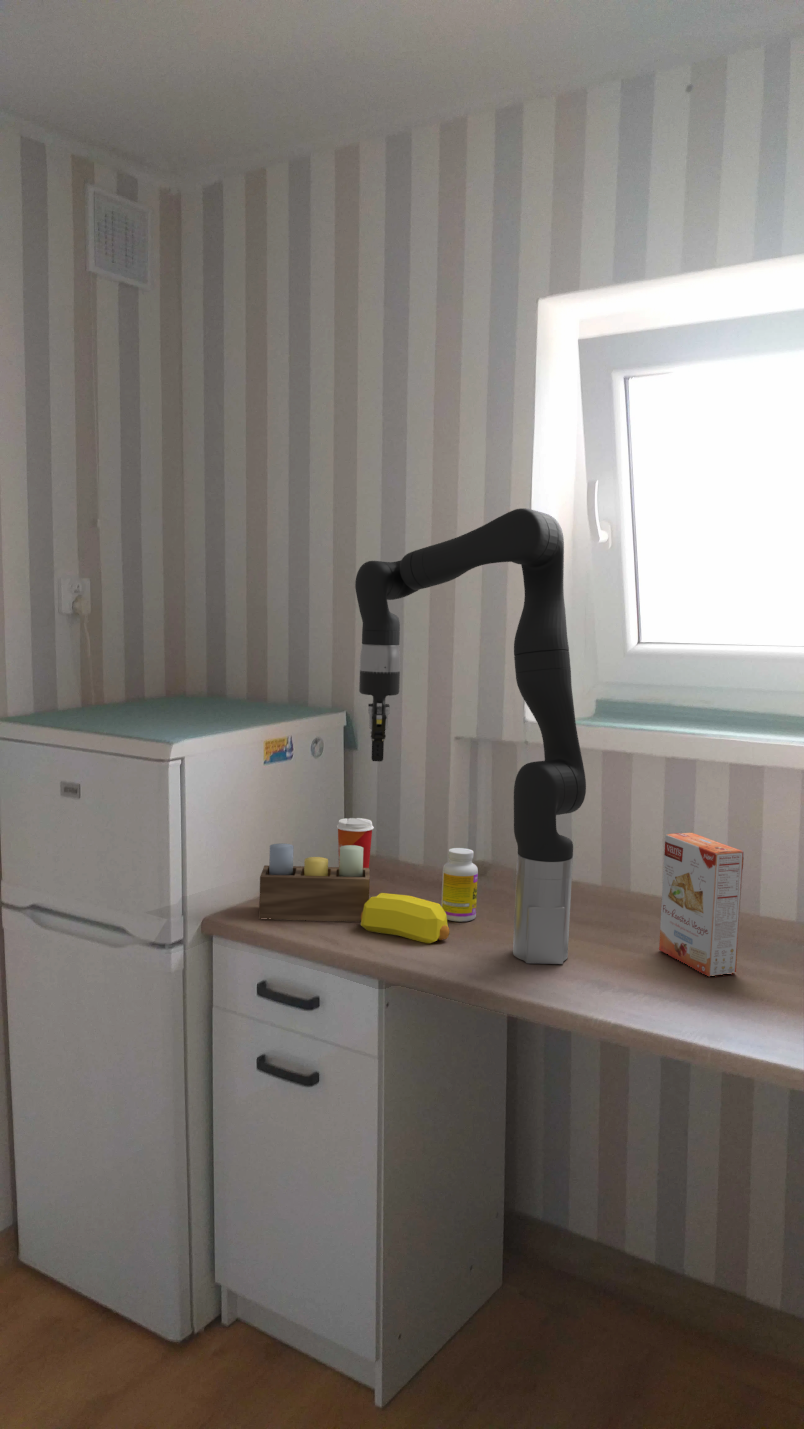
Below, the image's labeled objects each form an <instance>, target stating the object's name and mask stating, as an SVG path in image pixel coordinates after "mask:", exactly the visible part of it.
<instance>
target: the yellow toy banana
mask: <svg viewBox="0 0 804 1429" xmlns="http://www.w3.org/2000/svg"><path fill="white" fill-rule="evenodd" d="M360 926H361V927H362V928H364V929H365V930H366V931H368V932H372V933H378V934H379V933H380V934H386V935H394V936H400V937H403V938H406V939H408V940H413V941H416V942H421V943H423V944H424V943H425V944H432V943H434V942H436V941H438V940H439V941H442V940H447V939H448V938H449V936H450V928H449V926H448V920H447V915H446V913H445V911H444V910H443V908H442V907H441V904H440V903H438V902H434V901H430V900H428V899H423V898H420V897H417V896H416V897H415V896H412V895H409V894H408V895H407V894H399V893H398V894H397V893H386V892H380V893H379V894H378V895H375V896H371V897H369V900H368V901H367V902H366V903H365V904H364V909H363V912H362V913H361V922H360Z"/></svg>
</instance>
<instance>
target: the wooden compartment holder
mask: <svg viewBox="0 0 804 1429" xmlns="http://www.w3.org/2000/svg"><path fill="white" fill-rule="evenodd" d="M370 877H371V876H370V867H369V868H363V877H339V866H337V867H336V866H328V876H304V865H302V866H301V865H298V866H297V865H293V875H269V865H264V866H263V868H262V871H261V873H260V875H259V905H258V906H259V910H258V912H259V913H258V914H259V915H258V919H259V920H262V919H261V918H267V919H269V918H271V919H288V920H287V921H305V920H306V921H308V922H309V921H311V922H312V921H313V922H315V921H316V922H317V921H318V922H319V921H320V922H348V923H349V922H354V923H355V922H357V923H358V922H359V923H361V913H362V912H363V909H364V904H365V903H366V902H367V901H368V900H369V899H370Z"/></svg>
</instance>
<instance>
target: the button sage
mask: <svg viewBox="0 0 804 1429" xmlns="http://www.w3.org/2000/svg"><path fill="white" fill-rule="evenodd" d="M338 867H339V877H363V847H361V846H355V845H346V846H341V847H340V858H339V857H338Z"/></svg>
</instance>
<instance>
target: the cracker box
mask: <svg viewBox="0 0 804 1429" xmlns="http://www.w3.org/2000/svg"><path fill="white" fill-rule="evenodd" d="M664 839H665V840H664V854H663V856H664V857H663V873H662V891H661V906H660V907H661V909H660V927H659V947H658V949H659V950H658V951H660V952H662V953H664V954H665V955H667V954H668V955H667V956H669V957H671V958H673V959H675V960H676V959H677V961H678V960H679V961H678V962H680V961H681V963H682V962H683V963H682V964H684V963H685V964H687V965H688V967H689V966H690V967H689V968H691V967H692V968H691V969H693V968H694V969H695V970H694V969H693V970H694V971H696V970H697V971H696V972H698V971H699V972H698V973H700V972H701V973H703V974H705V975H707V976H712V975H721V974H727V973H732V972H736V973H737V964H738V951H739V950H738V949H739V933H740V932H739V931H740V917H741V915H740V914H741V903H742V901H741V900H742V887H743V886H742V885H743V869H744V855H745V854H744V851H743V850H741V849H738V848H735V847H733V846H730V845H727V844H724V843H721V842H718V841H716V840H713V839H710V838H708V837H705V836H702V835H700V834H696V833H695V832H683V833H682V832H678V833H677V832H675V833H667V834H665V838H664ZM685 964H684V965H685ZM687 965H686V966H687ZM701 973H700V974H701ZM703 974H702V975H703ZM705 975H704V976H705ZM707 976H706V977H707Z"/></svg>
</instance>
